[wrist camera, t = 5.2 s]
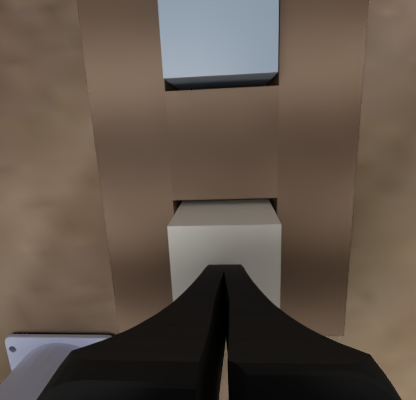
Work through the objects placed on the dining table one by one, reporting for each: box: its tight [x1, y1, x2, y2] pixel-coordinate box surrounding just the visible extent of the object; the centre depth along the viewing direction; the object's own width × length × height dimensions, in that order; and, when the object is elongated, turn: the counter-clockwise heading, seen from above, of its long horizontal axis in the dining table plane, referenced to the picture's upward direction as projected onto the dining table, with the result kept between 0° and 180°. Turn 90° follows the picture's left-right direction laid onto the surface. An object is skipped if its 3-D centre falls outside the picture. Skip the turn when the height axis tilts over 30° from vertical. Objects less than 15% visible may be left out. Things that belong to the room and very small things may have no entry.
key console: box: [77, 0, 369, 336], centre depth 16 cm, size 20×12×4 cm, turn 2°
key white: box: [167, 199, 281, 308], centre depth 14 cm, size 4×4×4 cm
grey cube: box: [158, 0, 279, 90], centre depth 13 cm, size 4×4×4 cm
